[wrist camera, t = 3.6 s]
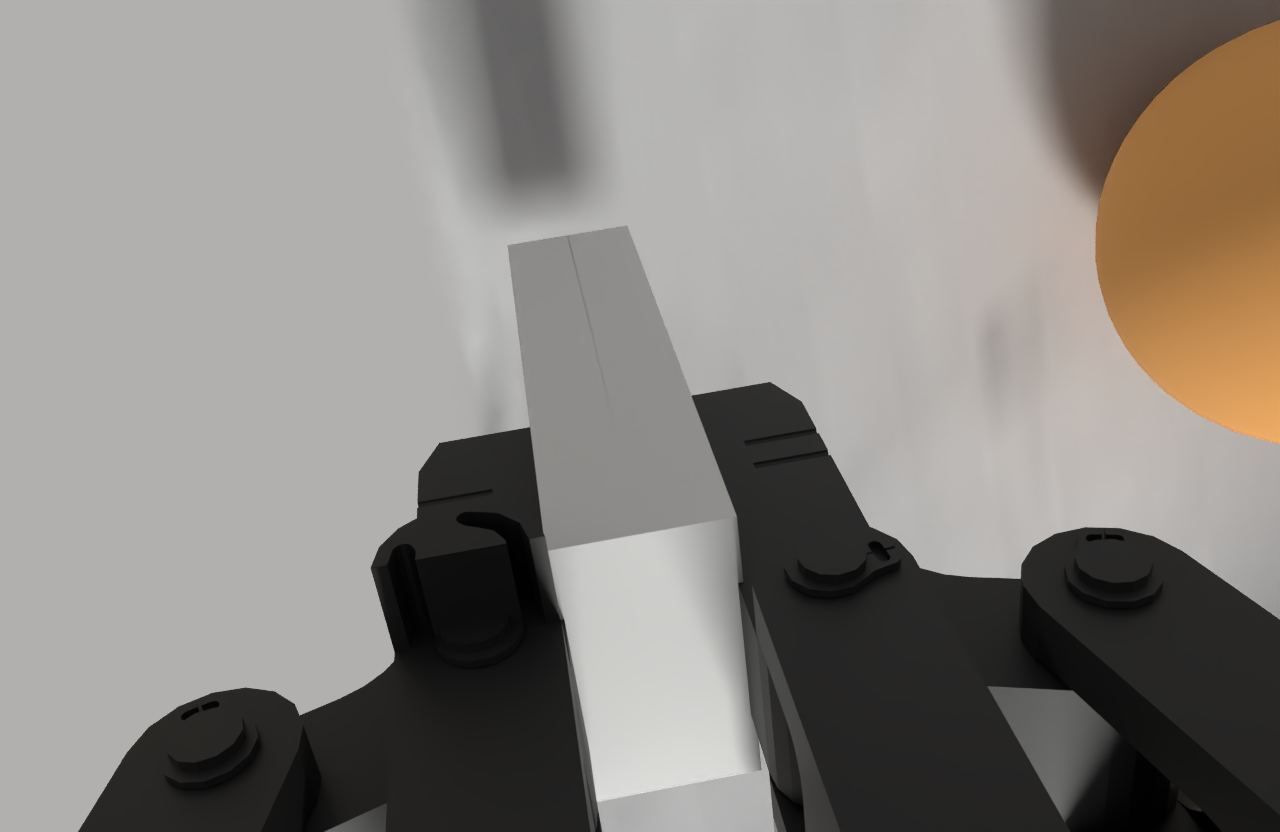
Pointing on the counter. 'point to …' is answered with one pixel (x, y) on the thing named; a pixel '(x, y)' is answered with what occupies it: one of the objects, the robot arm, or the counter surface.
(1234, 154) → the ball
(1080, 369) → the counter surface
